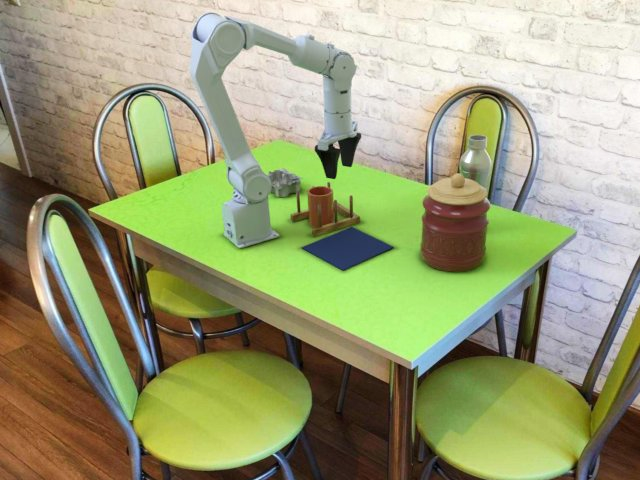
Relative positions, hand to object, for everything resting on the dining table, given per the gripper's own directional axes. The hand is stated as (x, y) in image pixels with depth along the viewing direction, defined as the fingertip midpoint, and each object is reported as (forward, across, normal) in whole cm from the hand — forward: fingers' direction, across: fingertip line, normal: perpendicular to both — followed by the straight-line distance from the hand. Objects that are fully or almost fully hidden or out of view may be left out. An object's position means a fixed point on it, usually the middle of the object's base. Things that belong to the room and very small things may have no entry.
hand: (339, 172), depth 152 cm
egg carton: (+10, +7, +20) cm, 23 cm away
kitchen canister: (+10, -9, -30) cm, 33 cm away
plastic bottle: (+10, +6, -29) cm, 31 cm away
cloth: (+10, -14, -9) cm, 20 cm away
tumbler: (+10, -6, +2) cm, 12 cm away
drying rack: (+10, -5, +1) cm, 11 cm away
